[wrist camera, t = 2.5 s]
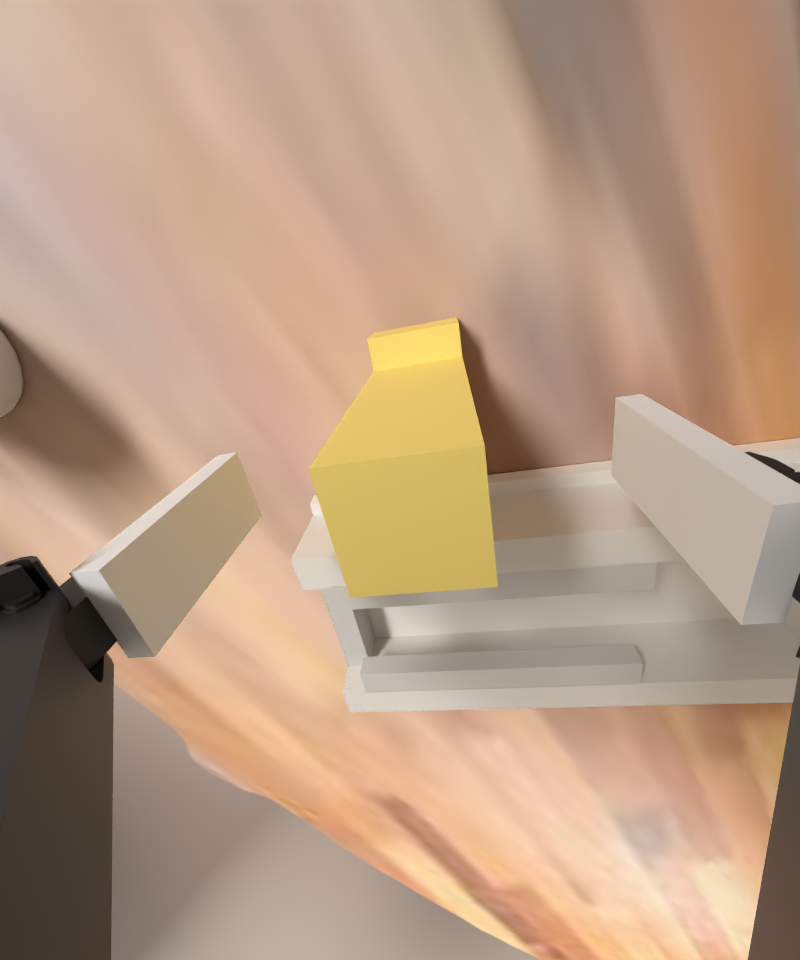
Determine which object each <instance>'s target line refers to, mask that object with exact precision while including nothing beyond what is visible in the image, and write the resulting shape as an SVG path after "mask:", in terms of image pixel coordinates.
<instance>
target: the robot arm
mask: <svg viewBox="0 0 800 960" xmlns="http://www.w3.org/2000/svg"><path fill="white" fill-rule="evenodd" d="M611 476H612V477H613V478H614V479H615V480H616V481H617V483H618V484H619V485H620V486H621V487H622V488H623V490H624V491H625V492H626V493H627V494H628V495H629V496H630V498H631V499H632V500H633V501H634V502H635V503H636V505H637V506H638V507H639V508H640V509H641V510H642V511H643V513H644V514H645V515H646V516H647V517H648V518H649V519H650V521H651V522H652V523H653V524H654V525H655V526H656V528H657V529H658V530H659V531H660V532H661V533H662V534H663V536H664V537H665V538H666V539H667V540H668V541H669V543H670V544H671V545H672V546H673V547H674V548H675V549H676V551H677V552H678V553H679V554H680V555H681V556H682V557H683V559H684V560H685V561H686V562H687V563H688V564H689V566H690V567H691V568H692V569H693V570H694V571H695V572H696V574H697V575H698V576H699V577H700V578H701V579H702V581H703V582H704V583H705V584H706V585H707V586H708V587H709V589H710V590H711V591H712V592H713V593H714V594H715V596H716V597H717V598H718V599H719V600H720V601H721V602H722V604H723V605H724V606H725V607H726V608H727V609H728V610H729V612H730V613H731V614H732V615H733V616H734V617H735V619H736V620H737V621H738V622H739V623H740V624H741V625H749V624H767V623H785V622H786V619H787V616H788V613H789V610H790V607H791V604H792V601H793V599H796V600H797V601H798V602H799V603H800V472H795V469H793V468H791V467H789V466H787V465H785V464H783V463H782V462H780V461H778V460H776V459H773V458H770V457H766V456H763V455H759V454H756V453H753V452H742V451H741V450H739V449H737V448H735V447H734V446H732V445H730V444H728V443H727V442H725V441H723V440H721V439H720V438H718V437H716V436H714V435H713V434H711V433H709V432H707V431H706V430H704V429H702V428H700V427H699V426H697V425H695V424H693V423H692V422H690V421H688V420H686V419H685V418H683V417H681V416H679V415H678V414H676V413H674V412H672V411H671V410H669V409H667V408H665V407H664V406H662V405H660V404H659V403H657V402H655V401H653V400H652V399H650V398H648V397H646V396H645V395H643V394H638V395H631V396H624V397H617V398H616V401H615V418H614V435H613V452H612V468H611ZM261 516H262V515H261V512H260V510H259V507H258V505H257V502H256V500H255V497H254V495H253V492H252V490H251V487H250V484H249V482H248V479H247V477H246V474H245V472H244V469H243V467H242V464H241V462H240V459H239V457H238V454H237V453H230V454H223V455H218V456H216V457H215V458H214V459H213V460H211V461H210V462H209V463H208V464H206V465H205V466H204V467H203V468H201V469H200V470H199V471H198V472H196V473H195V474H194V475H193V476H191V477H190V478H189V479H187V480H186V481H185V482H184V483H182V484H181V485H180V486H179V487H177V488H176V489H175V490H174V491H172V492H171V493H170V494H169V495H167V496H166V497H165V498H164V499H162V500H161V501H160V502H159V503H157V504H156V505H155V506H153V507H152V508H151V509H150V510H148V511H147V512H146V513H145V514H143V515H142V516H141V517H140V518H138V519H137V520H136V521H135V522H133V523H132V524H131V525H130V526H128V527H127V528H126V529H125V530H123V531H122V532H121V533H119V534H118V535H117V536H116V537H114V538H113V539H112V540H111V541H109V542H108V543H107V544H106V545H104V546H103V547H102V548H101V549H99V550H98V551H97V552H96V553H94V554H93V555H92V556H90V557H89V558H88V559H87V560H85V561H84V562H83V563H82V564H80V565H79V566H78V567H77V568H75V569H74V570H73V571H72V572H70V573H69V574H70V575H71V576H72V577H71V578H70V579H68V580H67V581H66V582H65V583H63V584H62V585H61V586H60V587H59V586H58V585H57V584H56V582H55V581H54V579H53V578H52V577H51V575H50V574H49V573H48V571H47V570H46V568H45V567H44V566H43V564H42V563H41V562H40V560H39V559H38V558H37V557H35V556H27V557H21V558H18V559H15V560H12V561H9V562H6V563H4V564H2V565H0V960H111V901H112V899H111V897H112V794H113V793H112V791H113V789H112V788H113V686H114V664H113V661H112V659H111V658H110V656H109V655H108V654H107V651H108V650H109V649H110V648H111V647H112V646H113V644H114V643H115V642H116V641H117V642H118V644H119V645H120V646H121V648H122V649H123V651H124V652H125V654H126V655H127V656H128V658H136V657H155V656H156V654H157V653H158V652H159V651H160V649H161V648H162V647H163V645H164V644H165V643H166V641H167V640H168V639H169V637H170V636H171V635H172V633H173V632H174V631H175V629H176V628H177V627H178V625H179V624H180V623H181V621H182V620H183V619H184V617H185V616H186V615H187V613H188V612H189V611H190V609H191V608H192V607H193V606H194V604H195V603H196V602H197V600H198V599H199V598H200V596H201V595H202V594H203V592H204V591H205V590H206V588H207V587H208V586H209V584H210V583H211V582H212V580H213V579H214V578H215V576H216V575H217V574H218V572H219V571H220V570H221V568H222V567H223V566H224V564H225V563H226V562H227V561H228V559H229V558H230V557H231V555H232V554H233V553H234V551H235V550H236V549H237V547H238V546H239V545H240V543H241V542H242V541H243V539H244V538H245V537H246V535H247V534H248V533H249V531H250V530H251V529H252V527H253V526H254V525H255V523H256V522H257V521H258V519H259V518H260V517H261ZM796 657H797V658H800V646H799V648H798V651H797V654H796ZM748 960H800V666H799V671H798V677H797V683H796V688H795V694H794V700H793V705H792V711H791V717H790V723H789V728H788V734H787V740H786V745H785V751H784V757H783V762H782V768H781V774H780V780H779V785H778V791H777V797H776V802H775V808H774V814H773V819H772V825H771V831H770V837H769V842H768V848H767V854H766V859H765V865H764V871H763V876H762V882H761V888H760V894H759V899H758V905H757V911H756V916H755V922H754V928H753V933H752V939H751V945H750V951H749V956H748Z"/></svg>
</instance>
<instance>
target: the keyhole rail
mask: <svg viewBox="0 0 800 960" xmlns="http://www.w3.org/2000/svg"><path fill="white" fill-rule="evenodd" d="M734 447H735V448H737V449H739V450H741V451H742V452H753V453H756V454H759V455H763V456H766V457H770V458H773V459H776V460H778V461H780V462H782V463H783V464H785V465H787V466H789V467H791V468H793V469H795V472H800V438H794V439H785V440H777V441H769V442H760V443H752V444H743V445H735V446H734ZM611 468H612V460H609V461H601V462H592V463H584V464H576V465H567V466H559V467H550V468H542V469H534V470H525V471H517V472H508V473H500V474H492V475H487V476H488V486H489V497H490V508H491V519H492V529H493V540H494V551H495V561H496V572H497V583H498V587H492V588H478V589H464V590H450V591H437V592H423V593H409V594H395V595H381V596H368V597H354V598H350V597H349V594H348V591H347V588H346V585H345V582H344V579H343V575H342V572H341V569H340V566H339V563H338V560H337V557H336V554H335V551H334V547H333V544H332V541H331V538H330V535H329V532H328V529H327V526H326V523H325V520H324V516H323V513H322V510H321V507H320V504H319V501H318V498H317V495H315V496H314V497H313V499H312V501H311V503H310V507H311V510H312V513H313V518H312V520H311V522H310V524H309V525H308V527H307V529H306V531H305V533H304V535H303V537H302V539H301V541H300V543H299V545H298V547H297V549H296V550H295V552H294V554H293V556H292V558H291V562H292V565H293V567H294V570H295V572H296V575H297V578H298V580H299V583H300V585H301V588H302V590H310V589H320V590H321V592H322V595H323V598H324V601H325V603H326V606H327V609H328V612H329V615H330V617H331V620H332V623H333V626H334V628H335V631H336V634H337V637H338V639H339V642H340V645H341V648H342V650H343V653H344V656H345V659H346V661H347V664H348V670H347V675H346V679H345V683H344V687H343V692H342V693H343V695H344V698H345V701H346V703H347V706H348V708H349V711H350V712H384V711H429V710H475V709H520V708H565V707H610V706H655V705H700V704H745V703H790V702H793V700H794V694H795V688H796V683H797V677H798V671H799V666H800V658H797V657H796V654H797V651H798V648H799V646H800V603H799V602H798V601H797V600H796V599H793V601H792V604H791V607H790V610H789V613H788V616H787V619H786V622H785V623H767V624H749V625H741V624H740V623H739V622H738V621H737V620H736V619H735V617H734V616H733V615H732V614H731V613H730V612H729V610H728V609H727V608H726V607H725V606H724V605H723V604H722V602H721V601H720V600H719V599H718V598H717V597H716V596H715V594H714V593H713V592H712V591H711V590H710V589H709V587H708V586H707V585H706V584H705V583H704V582H703V581H702V579H701V578H700V577H699V576H698V575H697V574H696V572H695V571H694V570H693V569H692V568H691V567H690V566H689V564H688V563H687V562H686V561H685V560H684V559H683V557H682V556H681V555H680V554H679V553H678V552H677V551H676V549H675V548H674V547H673V546H672V545H671V544H670V543H669V541H668V540H667V539H666V538H665V537H664V536H663V534H662V533H661V532H660V531H659V530H658V529H657V528H656V526H655V525H654V524H653V523H652V522H651V521H650V519H649V518H648V517H647V516H646V515H645V514H644V513H643V511H642V510H641V509H640V508H639V507H638V506H637V505H636V503H635V502H634V501H633V500H632V499H631V498H630V496H629V495H628V494H627V493H626V492H625V491H624V490H623V488H622V487H621V486H620V485H619V484H618V483H617V481H616V480H615V479H614V478H613V477H612V476H611Z"/></svg>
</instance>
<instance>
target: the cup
mask: <svg viewBox="0 0 800 960" xmlns="http://www.w3.org/2000/svg"><path fill="white" fill-rule="evenodd" d="M23 383H24V381H23V374H22V367H21V365H20V362H19V360H18V357H17V355H16V352H15V350H14V348H13V347H12V345H11V343H10V342H9V340H8V339H7V337H6V335H5V334H4V333H3V332H2V330H1V329H0V417H3V416H4V415H6V414H7V413H9V412H10V411H12V410H13V409H14V407H15V406H16V404H17V402H18V401H19V399H20V397H21V395H22V389H23Z"/></svg>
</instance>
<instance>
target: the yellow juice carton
mask: <svg viewBox="0 0 800 960" xmlns="http://www.w3.org/2000/svg"><path fill="white" fill-rule="evenodd" d="M367 342H368V347H369V352H370V357H371V361H372V366H373V373H372V374H371V376H370V377H369V379H368V380H367V382H366V383H365V385H364V386H363V388H362V389H361V391H360V392H359V394H358V395H357V397H356V398H355V400H354V401H353V403H352V404H351V406H350V407H349V409H348V410H347V412H346V413H345V415H344V416H343V418H342V419H341V421H340V422H339V423H338V425H337V426H336V428H335V429H334V431H333V432H332V434H331V435H330V437H329V438H328V440H327V441H326V443H325V444H324V446H323V447H322V449H321V450H320V452H319V453H318V455H317V456H316V458H315V459H314V461H313V462H312V464H311V465H310V467H309V468H308V470H309V473H310V476H311V479H312V482H313V485H314V488H315V492H316V495H317V498H318V501H319V504H320V507H321V510H322V513H323V516H324V520H325V523H326V526H327V529H328V532H329V535H330V538H331V541H332V544H333V547H334V551H335V554H336V557H337V560H338V563H339V566H340V569H341V572H342V575H343V579H344V582H345V585H346V588H347V591H348V594H349V597H350V598H354V597H368V596H381V595H395V594H409V593H423V592H437V591H450V590H464V589H478V588H492V587H498V583H497V572H496V561H495V551H494V540H493V529H492V519H491V508H490V497H489V486H488V476H487V465H486V454H485V445H484V441H483V437H482V433H481V429H480V425H479V421H478V417H477V413H476V409H475V405H474V401H473V397H472V393H471V389H470V385H469V381H468V377H467V373H466V369H465V365H464V361H463V357H462V350H461V340H460V331H459V322H458V319H457V318H451V319H446V320H440V321H435V322H430V323H424V324H419V325H414V326H408V327H403V328H398V329H392V330H387V331H381V332H376V333H373V334H372V335H371V336H370V337H369V338H368V339H367Z"/></svg>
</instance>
